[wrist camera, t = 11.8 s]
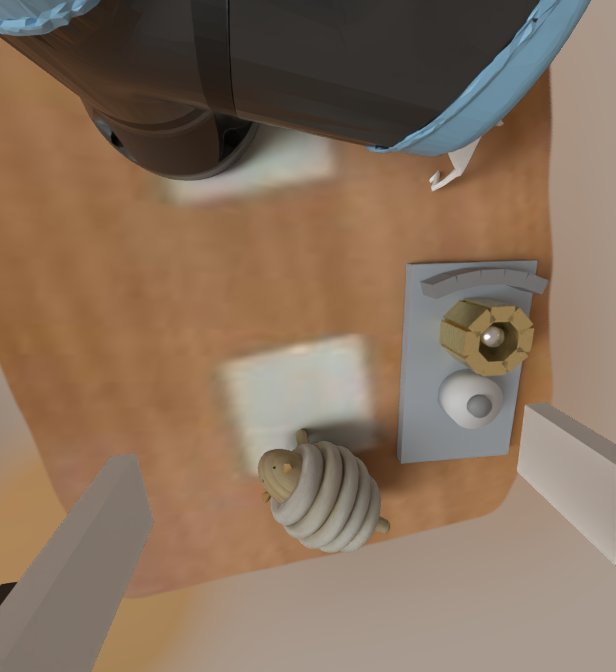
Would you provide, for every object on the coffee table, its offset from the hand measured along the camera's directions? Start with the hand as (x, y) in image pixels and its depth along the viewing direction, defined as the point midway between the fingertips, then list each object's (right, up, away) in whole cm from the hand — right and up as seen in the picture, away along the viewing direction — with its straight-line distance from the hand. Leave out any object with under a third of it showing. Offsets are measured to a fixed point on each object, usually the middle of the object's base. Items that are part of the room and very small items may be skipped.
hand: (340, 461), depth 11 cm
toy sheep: (0, -12, +31) cm, 33 cm away
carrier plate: (+17, +1, +29) cm, 33 cm away
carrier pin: (+17, +5, +26) cm, 32 cm away
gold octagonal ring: (+17, +5, +26) cm, 32 cm away
